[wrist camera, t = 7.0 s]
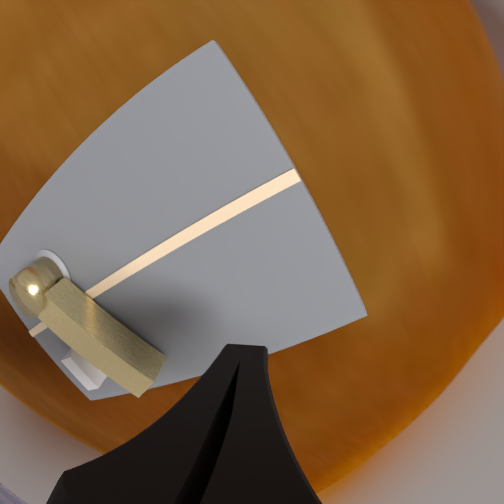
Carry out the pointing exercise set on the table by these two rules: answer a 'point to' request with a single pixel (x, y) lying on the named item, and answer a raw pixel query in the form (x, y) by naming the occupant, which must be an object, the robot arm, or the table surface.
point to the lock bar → (85, 326)
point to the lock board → (185, 229)
